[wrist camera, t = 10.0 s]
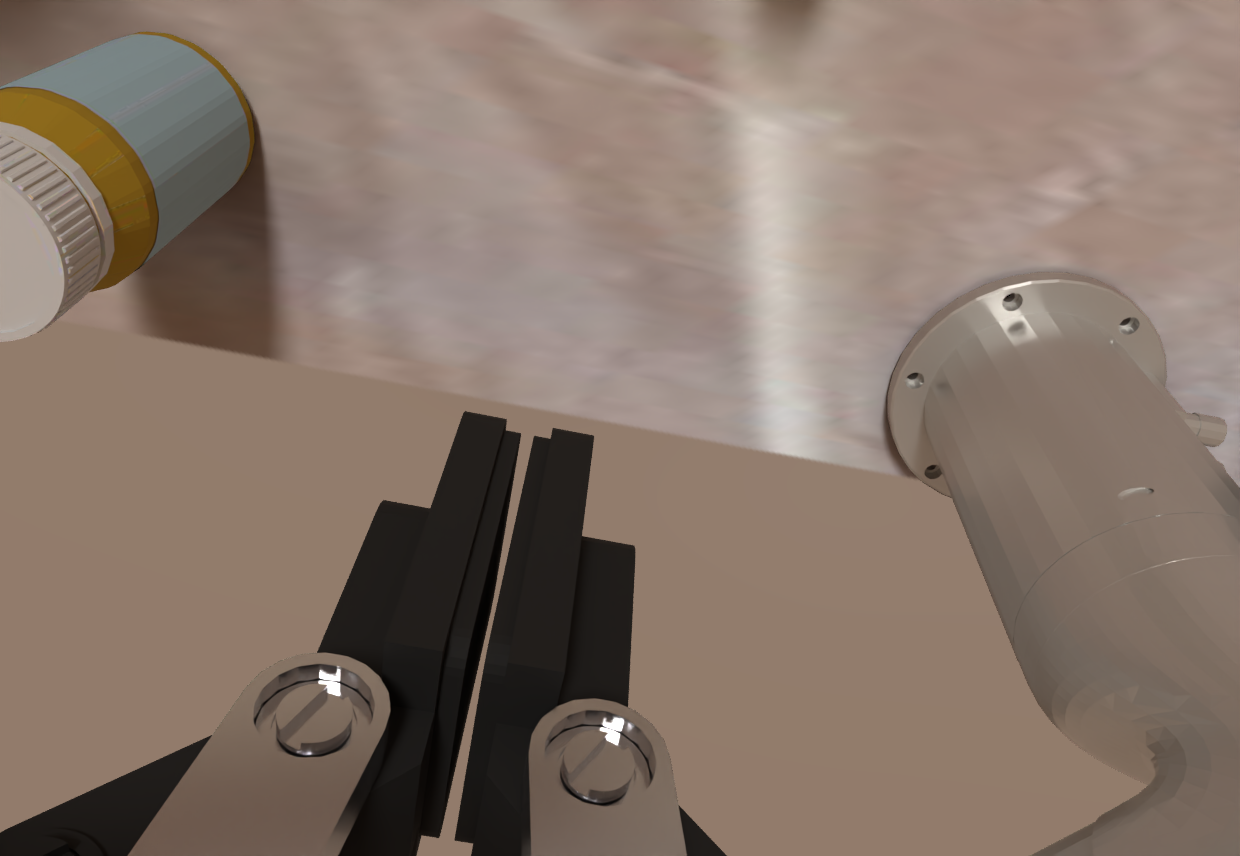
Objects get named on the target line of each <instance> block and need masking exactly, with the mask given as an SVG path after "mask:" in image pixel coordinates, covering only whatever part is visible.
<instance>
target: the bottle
mask: <svg viewBox="0 0 1240 856" xmlns="http://www.w3.org/2000/svg"><path fill="white" fill-rule="evenodd" d="M253 147H254V128H253V121H252V115H251V112H250V109H249V107H248V104H247V102H246V100H245V98H244V95H243V93H242V91H241V89H240V87H239V86H238V84H237V83H236V82H235V80H234V79H233V78H232V77H231V75H230V74H229V73H228V72H227V70H226V69H225V68H224V66H223V65H221V64H220V63H219V62H218V61H217V60H216V59H215V58H213V57H212V56H211V55H209V54H208V53H207V52H205V51H204V50H203V49H202V48H200V47H199V46H197V45H195V44H193V43H191V42H189V41H186V40H184V39H181V38H179V37H176V36H174V35H170V34H166V33H155V32H138V33H135V34H131V35H128V36H124V37H121V38H117V39H114V40H111V41H109V42H106V43H104V44H102V45H99V46H97V47H94V48H92V49H90V50H87V51H85V52H82V53H80V54H78V55H75V56H73V57H70V58H68V59H66V60H63V61H61V62H59V63H56V64H54V65H51V66H49V67H47V68H44V69H42V70H39V71H37V72H35V73H32V74H30V75H27V76H25V77H23V78H20V79H18V80H15V81H13V82H11V83H8V84H6V85H3V86H1V87H0V342H2V341H12V340H18V339H22V338H25V337H28V336H32V335H33V334H35V333H39V332H41V331H42V330H43V329H44V328H47V327H48V326H50V325H51V324H52V323H53V322H55V321H56V320H57V319H58V318H59V317H61V316H62V315H63V314H64V313H65V312H67V311H68V310H69V309H70V308H71V307H73V306H74V305H75V304H76V303H77V302H79V301H80V300H81V299H82V298H83V297H84V296H85V295H86V294H87V293H89V292H92V291H97V290H101V289H105V288H109V287H112V286H114V285H116V284H117V283H119V282H120V281H122V280H123V279H125V278H126V277H127V276H129V275H130V274H132V273H133V272H135V271H136V270H137V269H139V268H140V267H141V266H142V265H144V264H145V263H146V262H147V261H148V260H149V259H151V258H152V257H153V256H154V255H155V254H156V253H157V252H159V251H160V250H161V249H162V248H163V247H164V246H166V245H167V244H168V243H169V242H170V241H171V240H172V239H174V238H175V237H176V236H177V235H178V234H179V233H181V232H182V231H183V230H184V229H185V228H186V227H187V226H189V225H190V224H191V223H192V222H193V221H194V220H196V219H197V218H198V217H199V216H200V215H201V214H202V213H204V212H205V211H206V210H207V209H208V208H209V207H211V206H212V205H213V204H214V203H215V202H216V201H217V200H219V199H220V198H221V197H222V196H223V195H224V194H226V193H227V192H228V191H229V190H230V189H231V188H232V187H233V186H234V185H235V184H236V183H237V182H238V181H239V180H240V178H241V177H242V175H243V174H244V172H245V170H246V169H247V167H248V166H249V164H250V161H251V157H252V152H253Z"/></svg>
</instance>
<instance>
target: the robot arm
mask: <svg viewBox="0 0 1240 856" xmlns="http://www.w3.org/2000/svg"><path fill="white" fill-rule="evenodd" d="M1011 293H1012V294H1011ZM1009 294H1011V295H1010V296H1009V297H1007V298H1005V297H1006V296H1007V295H1009ZM912 373H914V374H913V375H910V374H912ZM1166 380H1167V371H1166V355H1165V352H1164V349H1163V345H1162V342H1161V339H1160V336H1159V334H1158V333H1157V331H1156V329H1155V328H1154V326H1153V325H1152V323H1151V321H1150V320H1149V318H1148V317H1147V316H1146V315H1145V314H1144V313H1143V311H1142V310H1141V309H1140V308H1139V307H1138V306H1137V305H1136V304H1135V303H1134V302H1133V301H1132V300H1131V299H1129V298H1128V297H1126V296H1125V295H1124V294H1122V293H1121V292H1120V291H1118V290H1117V289H1116V288H1114V287H1112V286H1109V285H1107V284H1105V283H1102V282H1100V281H1098V280H1095V279H1093V278H1090V277H1085V276H1080V275H1075V274H1070V273H1058V272H1036V273H1030V274H1023V275H1016V276H1010V277H1007V278H1004V279H1001V280H998V281H995V282H991V283H988V284H985V285H983V286H981V287H979V288H977V289H975V290H973V291H971V292H969V293H967V294H965V295H963V296H961V297H959V298H957V299H956V300H954V301H953V302H952V303H950V304H949V305H947V306H946V307H944V308H943V309H942V310H940V311H939V312H937V313H936V314H935V315H934V316H933V317H932V318H931V319H930V320H929V321H928V322H927V323H926V324H925V325H924V326H923V327H922V328H921V329H920V330H919V331H918V332H917V333H916V334H915V336H914V337H913V339H912V340H911V341H910V343H909V344H908V346H907V347H906V348H905V350H904V351H903V353H902V355H901V357H900V359H899V361H898V363H897V366H896V368H895V370H894V372H893V375H892V379H891V383H890V387H889V391H888V409H887V416H888V420H889V425H890V429H891V434H892V437H893V439H894V442H895V444H896V447H897V449H898V452H899V454H900V456H901V457H902V459H903V460H904V462H905V463H906V465H907V466H908V468H909V469H910V470H911V471H912V472H913V473H914V474H915V475H916V476H917V477H918V478H919V479H920V480H921V481H922V482H923V483H924V484H926V485H928V486H929V487H931V488H933V489H934V490H936V491H937V492H939V493H941V494H943V495H945V496H948V497H951V498H952V499H953V502H954V504H955V507H956V509H957V511H958V514H959V516H960V519H961V521H962V524H963V526H964V529H965V531H966V534H967V536H968V539H969V541H970V544H971V546H972V549H973V551H974V554H975V556H976V558H977V561H978V563H979V566H980V568H981V571H982V573H983V576H984V578H985V581H986V583H987V586H988V588H989V591H990V593H991V596H992V598H993V601H994V603H995V606H996V608H997V611H998V613H999V615H1000V618H1001V620H1002V623H1003V625H1004V628H1005V630H1006V633H1007V635H1008V638H1009V640H1010V643H1011V645H1012V648H1013V650H1014V653H1015V655H1016V658H1017V660H1018V662H1019V663H1020V666H1021V669H1022V671H1023V674H1024V676H1025V678H1026V681H1027V683H1028V685H1029V687H1030V689H1031V691H1032V693H1033V695H1034V697H1035V699H1036V701H1037V703H1038V704H1039V706H1040V707H1041V708H1042V710H1043V711H1044V713H1045V714H1046V715H1047V717H1048V718H1049V719H1050V721H1051V722H1052V723H1053V724H1054V725H1055V726H1056V727H1057V728H1058V729H1059V730H1060V731H1061V732H1062V733H1063V734H1064V735H1065V736H1066V737H1067V738H1068V739H1070V741H1072V742H1073V743H1074V744H1075V745H1076V746H1078V747H1079V748H1081V749H1082V750H1084V751H1085V752H1087V753H1088V754H1090V755H1091V756H1093V757H1094V758H1096V759H1097V760H1099V761H1101V762H1102V763H1104V764H1106V765H1108V766H1110V767H1111V768H1113V769H1115V770H1118V771H1120V772H1121V773H1123V774H1126V775H1127V776H1130V777H1132V778H1134V779H1136V780H1138V781H1140V782H1143V783H1145V784H1147V785H1148V786H1147V787H1146V788H1145V789H1143V790H1142V791H1141V792H1140V793H1139V794H1138V795H1136V796H1134V797H1132V798H1131V799H1129V800H1127V801H1126V802H1124V803H1122V804H1120V805H1119V806H1117V807H1115V808H1113V809H1112V810H1110V811H1108V812H1106V813H1104V814H1102V815H1101V816H1100V817H1099V818H1098V819H1097V820H1096V822H1094V823H1092V824H1090V825H1088V826H1086V827H1084V828H1082V829H1080V830H1078V831H1077V832H1074V833H1073V834H1071V835H1069V836H1067V837H1065V838H1063V839H1061V840H1059V841H1057V842H1055V843H1053V844H1051V845H1050V846H1048V847H1046V848H1044V849H1042V850H1040V851H1038V852H1036V853H1034V854H1032V855H1030V856H1240V488H1239V486H1238V485H1237V484H1236V483H1235V482H1234V480H1233V479H1232V478H1231V477H1230V476H1229V474H1228V473H1227V472H1226V470H1225V468H1224V465H1223V464H1222V463H1220V462H1219V461H1217V460H1216V459H1215V458H1214V456H1213V455H1212V454H1211V453H1210V452H1209V450H1208V449H1207V448H1206V447H1205V446H1210V447H1216V446H1219V445H1220V444H1221V443H1222V442H1223V441H1224V439H1225V436H1226V434H1227V425H1226V423H1225V420H1223V419H1221V418H1218V417H1213V416H1208V415H1203V414H1198V413H1192V414H1191V413H1186V412H1185V411H1184V409H1183V408H1182V407H1181V406H1180V405H1179V403H1178V402H1177V401H1176V400H1175V399H1174V398H1173V396H1172V395H1171V394H1170V393H1169V392H1168V391H1167V389H1166V388H1165V385H1166ZM506 422H507V421H506V419H503V418H498V417H492V416H487V415H481V414H477V413H471V412H466V411H465V412H464V413H463V416H462V419H461V422H460V424H459V427H458V430H457V433H456V436H455V439H454V442H453V445H452V447H451V450H450V453H449V456H448V459H447V462H446V465H445V468H444V471H443V473H442V477H441V480H440V482H439V485H438V488H437V491H436V494H435V497H434V500H433V503H432V505H431V508H424V507H419V506H413V505H408V504H402V503H397V502H391V501H386V500H383V501H382V502H381V503H380V505H379V507H378V509H377V512H376V514H375V516H374V518H373V521H372V523H371V526H370V528H369V530H368V533H367V535H366V537H365V540H364V542H363V545H362V547H361V550H360V552H359V554H358V556H357V559H356V561H355V564H354V566H353V569H352V571H351V574H350V576H349V579H348V580H347V583H346V585H345V587H344V590H343V592H342V595H341V597H340V599H339V602H338V604H337V607H336V609H335V611H334V614H333V616H332V618H331V621H330V623H329V626H328V628H327V630H326V633H325V635H324V637H323V640H322V642H321V645H320V647H319V650H318V652H317V653H310V654H301V655H297V656H294V657H291V658H288V659H284V660H281V661H279V662H277V663H275V664H274V665H272V666H270V667H269V668H267V669H265V670H264V671H262V672H261V673H260V674H258V676H256V677H255V679H254V680H253V681H252V682H251V683H250V684H249V685H248V686H247V687H246V688H245V689H244V691H243V692H242V694H241V695H240V696H239V698H238V699H237V701H236V703H235V704H234V705H233V706H232V708H231V709H230V711H229V712H228V714H227V715H226V716H225V718H224V719H223V721H222V722H221V724H220V725H219V727H218V728H217V729H216V731H215V732H214V733H213V735H211V736H209V737H207V738H205V739H202V740H200V741H198V742H196V743H193V744H191V745H189V746H187V747H185V748H183V749H180V750H178V751H176V752H174V753H172V754H170V755H167V756H165V757H163V758H161V759H159V760H156V761H154V762H152V763H150V764H148V765H146V766H143V767H141V768H139V769H137V770H135V771H132V772H130V773H128V774H126V775H124V776H121V777H119V778H117V779H115V780H113V781H111V782H108V783H106V784H104V785H102V786H100V787H98V788H95V789H93V790H91V791H89V792H87V793H85V794H82V795H80V796H78V797H76V798H74V799H71V800H69V801H67V802H65V803H63V804H60V805H58V806H56V807H54V808H52V809H50V810H47V811H45V812H43V813H41V814H39V815H37V816H34V817H32V818H30V819H28V820H26V821H24V822H21V823H19V824H17V825H15V826H13V827H10V828H8V829H6V830H4V831H3V832H1V833H0V856H416V855H417V851H418V847H419V843H420V839H421V835H423V836H430V837H436V838H439V836H440V833H441V829H442V825H443V821H444V816H445V812H446V807H447V803H448V798H449V794H450V789H451V785H452V781H453V776H454V772H455V767H456V763H457V758H458V754H459V750H460V745H461V741H462V736H463V732H464V728H465V723H466V719H467V714H468V710H469V705H470V701H471V697H472V692H473V687H474V683H475V679H476V674H477V670H478V666H479V661H480V657H481V652H482V648H483V643H484V639H485V635H486V630H487V626H488V621H489V616H490V612H491V607H492V603H493V598H494V592H495V586H496V581H497V575H498V569H499V563H500V557H501V551H502V545H503V539H504V533H505V527H506V521H507V515H508V509H509V503H510V497H511V491H512V486H513V480H514V473H515V467H516V461H517V456H518V450H519V444H520V437H521V433H516V432H511V431H506ZM593 442H594V436H593V435H588V434H582V433H577V432H572V431H566V430H561V429H556V428H553V430H552V435H551V439H548V438H542V437H538V436H534V439H533V444H532V448H531V453H530V458H529V462H528V466H527V471H526V475H525V480H524V484H523V489H522V494H521V498H520V503H519V507H518V512H517V516H516V522H515V525H514V530H513V535H512V540H511V544H510V548H509V553H508V557H507V562H506V566H505V571H504V576H503V580H502V585H501V589H500V594H499V599H498V603H497V608H496V612H495V616H494V621H493V626H492V630H491V635H490V640H489V644H488V649H487V654H486V659H485V664H484V670H483V675H482V681H481V687H480V693H479V699H478V704H477V711H476V716H475V723H474V728H473V734H472V740H471V746H470V752H469V758H468V764H467V769H466V775H465V781H464V787H463V793H462V799H461V805H460V811H459V817H458V823H457V829H456V834H455V841H461V842H468V843H473V849H472V854H471V856H726V855H725V853H724V852H723V851H722V850H721V849H720V848H719V847H718V846H717V845H716V844H715V843H714V842H713V841H712V840H711V839H710V838H709V837H708V836H707V835H706V833H705V832H704V831H703V830H702V829H701V828H700V827H699V826H698V825H697V824H696V823H695V822H694V821H693V820H692V819H691V818H690V817H689V816H688V815H687V814H686V812H685V811H684V810H683V809H682V808H681V807H680V806H679V805H678V800H677V794H676V788H675V782H674V777H673V770H672V764H671V759H670V756H669V753H668V750H667V747H666V744H665V741H664V739H663V738H662V737H661V735H660V734H659V733H658V731H657V730H656V729H655V727H654V726H653V724H651V723H650V722H649V721H648V720H647V719H645V718H644V717H642V716H641V715H640V714H639V713H638V712H636V711H635V710H632V709H630V708H628V694H629V674H630V654H631V633H632V613H633V593H634V573H635V547H634V546H633V545H627V544H622V543H616V542H611V541H606V540H600V539H595V538H589V537H583V536H582V530H583V522H584V514H585V506H586V498H587V490H588V482H589V474H590V466H591V458H592V450H593ZM1204 445H1205V446H1204Z"/></svg>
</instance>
